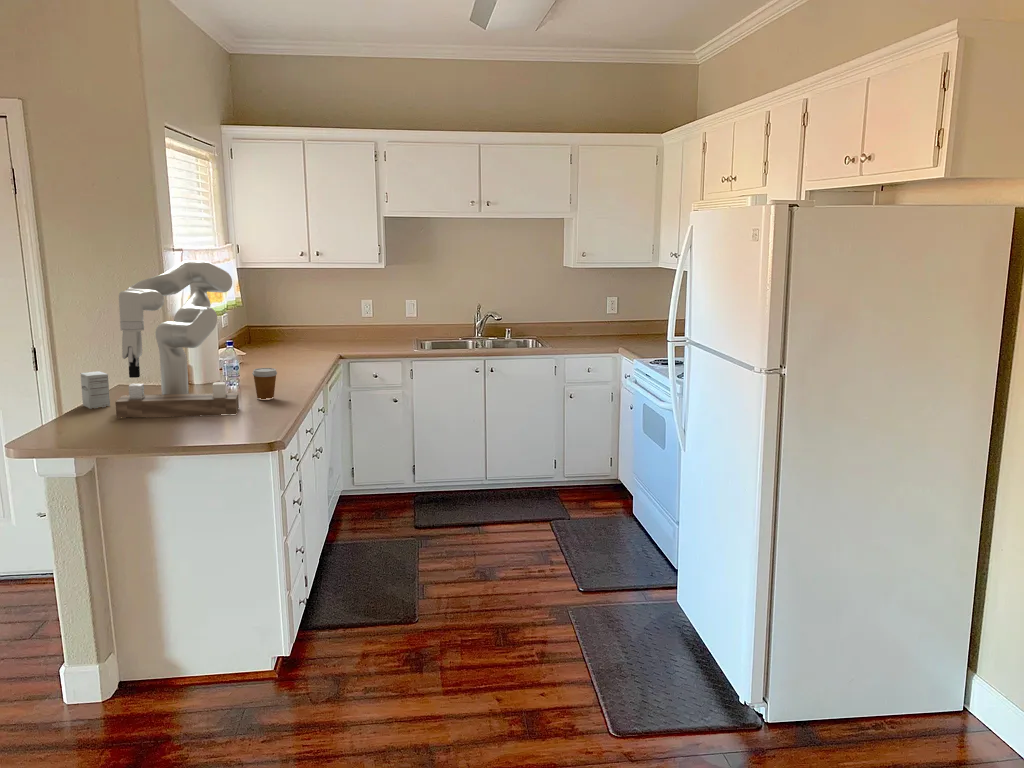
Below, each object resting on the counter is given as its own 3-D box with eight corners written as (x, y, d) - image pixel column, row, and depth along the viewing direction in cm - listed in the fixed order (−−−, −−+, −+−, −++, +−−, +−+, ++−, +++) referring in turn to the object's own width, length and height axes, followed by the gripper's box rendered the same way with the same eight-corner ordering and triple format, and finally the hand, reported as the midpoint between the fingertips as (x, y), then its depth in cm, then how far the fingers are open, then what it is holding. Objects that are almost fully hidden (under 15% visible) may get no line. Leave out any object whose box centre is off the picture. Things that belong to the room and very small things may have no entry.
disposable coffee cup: (270, 402, 301) (269, 372, 299) (248, 400, 303) (247, 370, 300) (282, 397, 310) (281, 368, 308) (260, 395, 312) (260, 367, 310)
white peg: (214, 396, 282) (213, 382, 281) (226, 396, 283) (225, 382, 282) (213, 399, 278) (212, 384, 277) (225, 398, 279) (224, 384, 278)
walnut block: (123, 411, 278) (122, 395, 277) (238, 408, 289) (238, 392, 288) (116, 418, 268) (115, 401, 267) (236, 414, 278) (235, 399, 277)
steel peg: (131, 398, 275) (130, 383, 274) (144, 398, 276) (143, 383, 275) (129, 401, 271) (128, 385, 270) (142, 400, 272) (141, 385, 271)
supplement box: (82, 405, 285) (79, 372, 282) (103, 403, 290) (101, 370, 288) (89, 409, 280) (86, 375, 277) (110, 406, 285) (108, 373, 283)
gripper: (125, 323, 274) (127, 373, 277) (115, 328, 260) (118, 380, 263) (147, 324, 276) (150, 373, 279) (139, 328, 262) (141, 380, 265)
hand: (134, 377), depth 271 cm, fingers closed
